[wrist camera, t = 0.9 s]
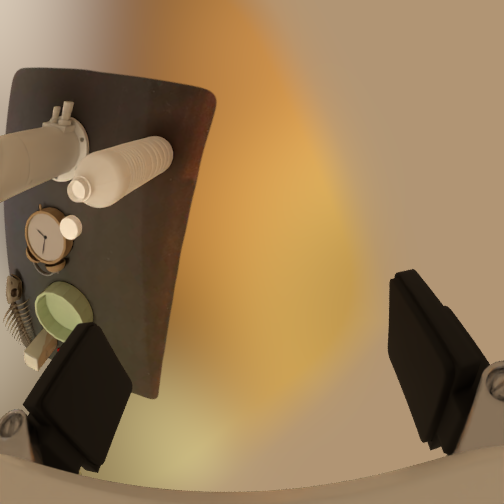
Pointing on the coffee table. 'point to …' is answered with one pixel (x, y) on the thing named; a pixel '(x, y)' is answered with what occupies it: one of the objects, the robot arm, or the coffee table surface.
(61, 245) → the alarm clock
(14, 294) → the fish skeleton
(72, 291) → the holder
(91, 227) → the coffee table surface
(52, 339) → the box
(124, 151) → the plastic bottle and lid
